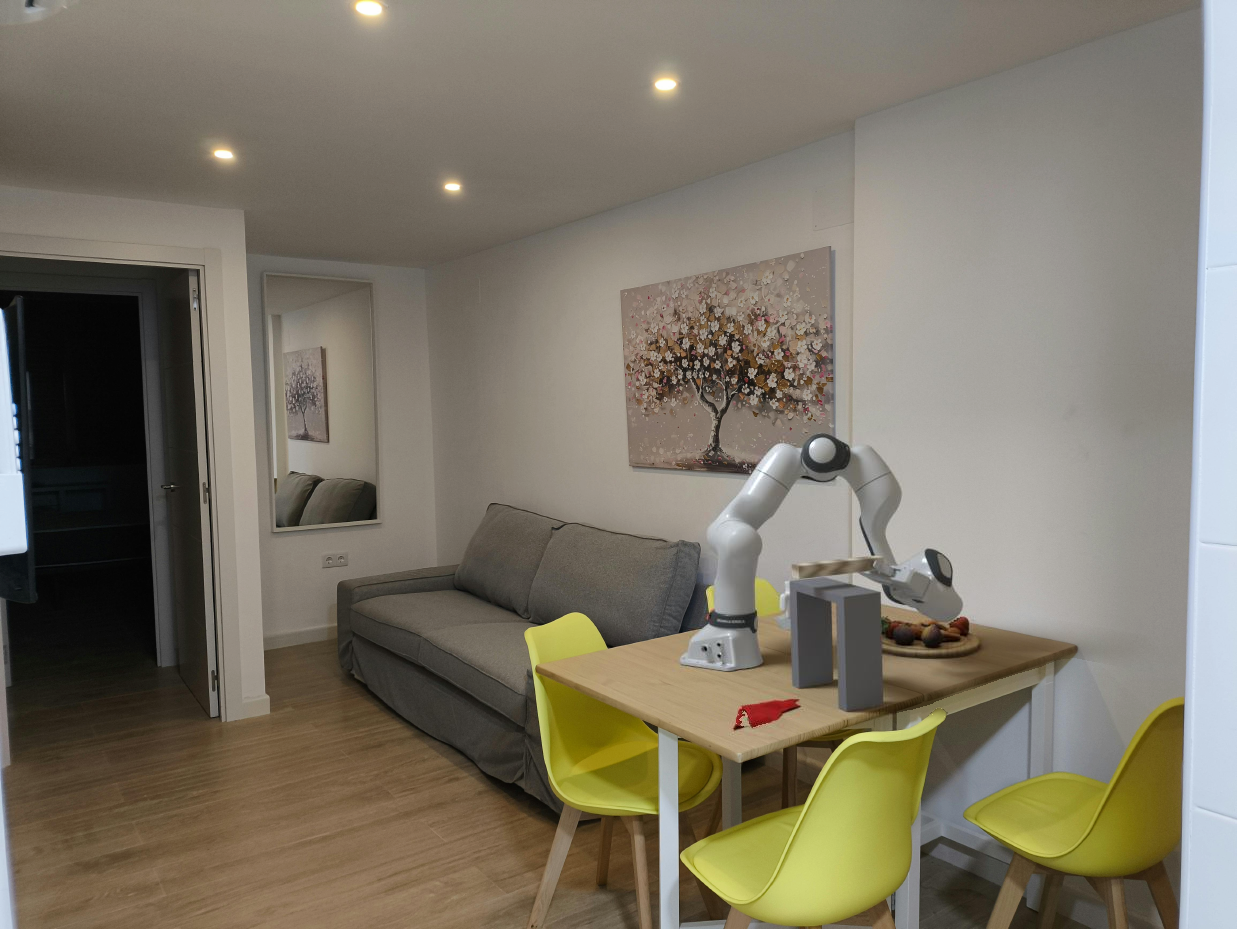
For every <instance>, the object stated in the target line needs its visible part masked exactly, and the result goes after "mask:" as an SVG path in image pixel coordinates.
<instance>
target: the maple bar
mask: <svg viewBox="0 0 1237 929" xmlns="http://www.w3.org/2000/svg"><path fill="white" fill-rule="evenodd" d="M873 560H875V561H879V562H880V563H882V564H884V557H881V556H877V555H876V556H871V555H868V556H866V555H865V556H858V557H849V558H848V557H847V558H839V559H829V560H821V561H813V562H811V561H810V562H802V563H793V564H791V578H793V579H797V580H803V579H812V578H820V577H828V576H829V577H830V576H831V577H832V576H838V575H839V576H840V575H847V574H856V573H857V574H859V573H858V572H867V571H875V570H876V569H874V568H872V567H871V563H872V561H873Z"/></svg>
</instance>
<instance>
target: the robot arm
mask: <svg viewBox="0 0 1237 929" xmlns="http://www.w3.org/2000/svg"><path fill="white" fill-rule="evenodd" d="M837 477H841V478H843V479H844V480H845V481H846V482H847V483H848V484H849V485H850V487H851V489H852V491H853V493H854V495H855V496H856V498H857V501H858V503H859V508H860V515H859V519H858V522H859V527H860V530H861V533H862V535H863V538H864V541H865V543H866V546H867V548H868V550H869V553H870V556H876V555H877V556H881V557H884V564H882V563H880V562H879V561H875V560H873V561H872V563H871V567H872V568H874V569H876V570H875V571H867V572H858V573H857V574H859V575H861V576H863V577H865V578H866V579H868V580H870V581H872V582H875V583H877V584H880V585H881V589H882V591H883V593H884V595H885V596H886V598H887V599H888V600H890V601H891V602H893V603H895V604H898V605H901V606H907V607H910V608H912V609H916V611H917V612H918V613H920V614H921V615H923V616H925V617H926V618H929V619H930V620H935V621H938V622H939V623H945V624H946V623H950V622H952V621H954V619H955V620H956V618H958V617H959V615H961V612H962V611H963V607H964V602H963V599H962V598H961V597H960V595H959V594H958V592H957V591H956V590H955V587H954V585H953V575H954V574H953V573H954V570H953V569H954V568H953V566H952V563H951V561H950V559H949V558H948V557H947V556H946V555H945V554H943V553H942V552H940V551H938V550H936V549H935V548H926V549H924V550H922V551H920V552H917V553H916V554H915V555H913V556H911V557H910V558H908V559H906V560H904V561H903V562H900V563H899V564H898V563H897V561H896V559H895V557H894V554H893V552H892V549H891V547H890V544H889V542H888V539H887V536H886V530H887V527H888V524H889V522H890V521H891V519H892V517H893V516H894V515H895V513H896V512H897V510H898V508H899V507H900V504H901V501H902V496H903V494H902V493H903V492H902V486H901V485H900V483H899V481H898V479H897V478H896V476H895V474H894V472H892V470H891V469H890V467H889V465H888V464H887V463H886V462H885V460H884V459H883V458H882V456H881V455H880V454H879V453H878V452H877V450H875V449H874V448H873V447H872V446H870V445H868V444H859V445H855V446H853V447H851V448H850V446H849V445H848V443H846V442H844V441H842V440H840V439H838V438H837V437H835V436H833V435H830V434H829V433H824V432H823V433H817V434H814V435H811V436H810V437H809V438H808V439H807V440H805V443H803V446H802V447H800V448H799V447H795V446H794V445H791V444H790V443H783V442H782V443H777V444H775V445H774V446H773V447H772V448H771V449H770V450H768V452H767V453H766V454H765V455H764V456H763V458H762V459H761V460H760V462H759V463H758V464H757V465H756V467H755V469H754V470H753V472H752V473H751V475H750V476H749V477H748V479H747V480H746V482H745V484H744V485H743V486H742V488H741V489H740V491H739V492H738V494H737V495H736V496H735V498H733V499H732V501H731V502H729V504H728V505H727V506H726V507H725V508H724V509H723V510H722V512H721V513H720V514H719V515H718V517H716V519H715V520H713V521H712V522H711V523H710V524H709V525H708V527H707V529H706V532H705V538H706V542H707V545H708V547H709V549H710V550H711V551H712V552H713V553H714V554H715V555H717V556H718V557H717V558H718V560H717V568H716V575H715V579H714V581H713V596H714V597H713V599H714V607H713V608H711V610H710V611H709V612H708V613H707V615H706V620H707V622H708V623H707V624H706V625H705V626H703V627H702V628H701V629H700V630H699V631H697V632H695V634H694V635H692V637H691V638H690V640H689V642H688V648H687V651H686V652H685V653H682V655H681V656H680V658H679V664H680V665H684V666H692V667H696V668H697V667H698V668H704V669H710V670H716V671H723V672H732V671H736V670H742V669H748V668H749V669H751V668H754V667H758V666H760V665H762V664H763V663H764V659H763V657H762V653H761V648H760V645H759V638H758V629H759V616H758V611H757V610H756V577H757V576H756V575H757V570H758V563H759V557H760V555H761V553H762V550H763V539H762V537H761V535H760V534H759V532H758V530H759V529H760V528H761V527H762V526H763V525H764V524H765V523H766V522H767V521H768V520H770V519H771V518H772V517H773V516H774V515H775V514H776V513H777V511H778V509H779V508H780V507H781V505H782V503H783V502H784V500H785V498H786V497H787V496H788V494H789V492H790V491H791V490H792V488H793V486H794V485H795V483H796V482H797V480H798V479H800V478H801V479H805V480H809V481H813V482H816V483H829V482H831V481H832V482H833V481H834V480H835V479H836V478H837Z"/></svg>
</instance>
